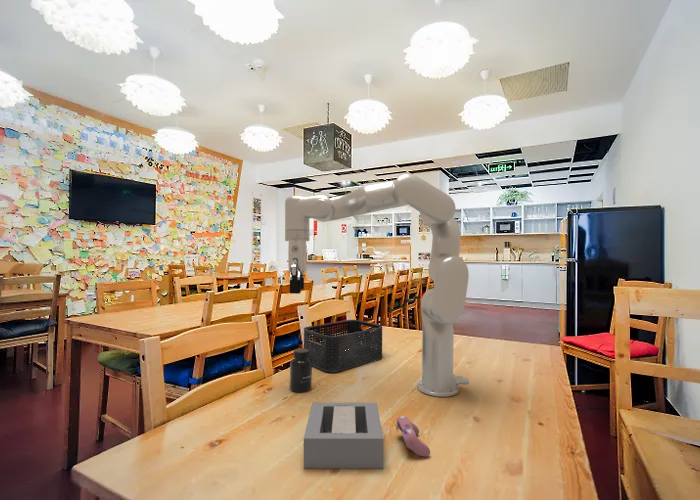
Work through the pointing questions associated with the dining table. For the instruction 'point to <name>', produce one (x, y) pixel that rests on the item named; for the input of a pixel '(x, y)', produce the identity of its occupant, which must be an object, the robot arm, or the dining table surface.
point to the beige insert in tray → (344, 420)
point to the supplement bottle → (301, 371)
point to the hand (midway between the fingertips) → (297, 291)
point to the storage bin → (343, 345)
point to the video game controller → (412, 436)
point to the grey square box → (343, 438)
